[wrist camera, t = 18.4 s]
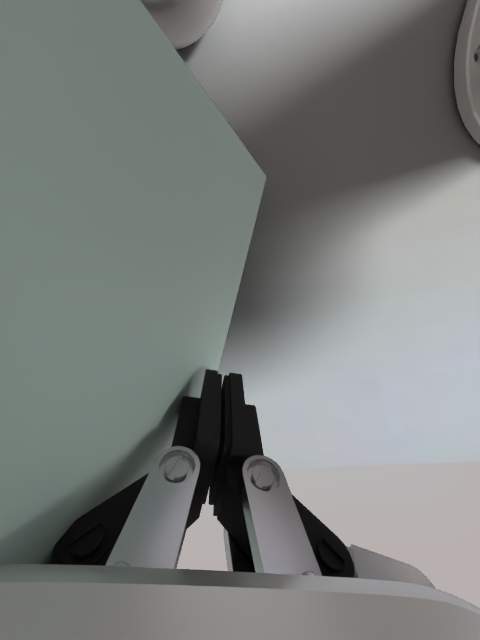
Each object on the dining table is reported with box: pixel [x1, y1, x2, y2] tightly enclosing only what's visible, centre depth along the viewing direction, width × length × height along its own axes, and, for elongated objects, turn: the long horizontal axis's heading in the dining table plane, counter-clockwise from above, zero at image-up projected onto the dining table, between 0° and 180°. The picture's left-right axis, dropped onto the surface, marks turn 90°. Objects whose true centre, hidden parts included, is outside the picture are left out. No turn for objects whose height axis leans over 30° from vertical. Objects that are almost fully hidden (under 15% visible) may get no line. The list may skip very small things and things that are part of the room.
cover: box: [0, 0, 267, 565], centre depth 10 cm, size 18×12×1 cm
